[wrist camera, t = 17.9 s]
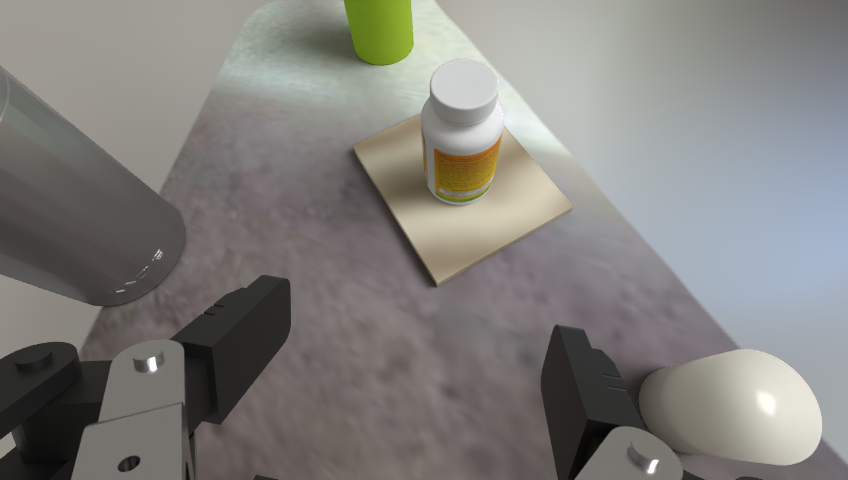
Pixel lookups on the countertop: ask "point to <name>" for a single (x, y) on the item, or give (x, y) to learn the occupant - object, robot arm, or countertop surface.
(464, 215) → the ash board
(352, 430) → the countertop surface
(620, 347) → the countertop surface
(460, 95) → the supplement bottle
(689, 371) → the ceramic jar
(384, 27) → the soap dispenser
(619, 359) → the countertop surface
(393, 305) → the countertop surface
